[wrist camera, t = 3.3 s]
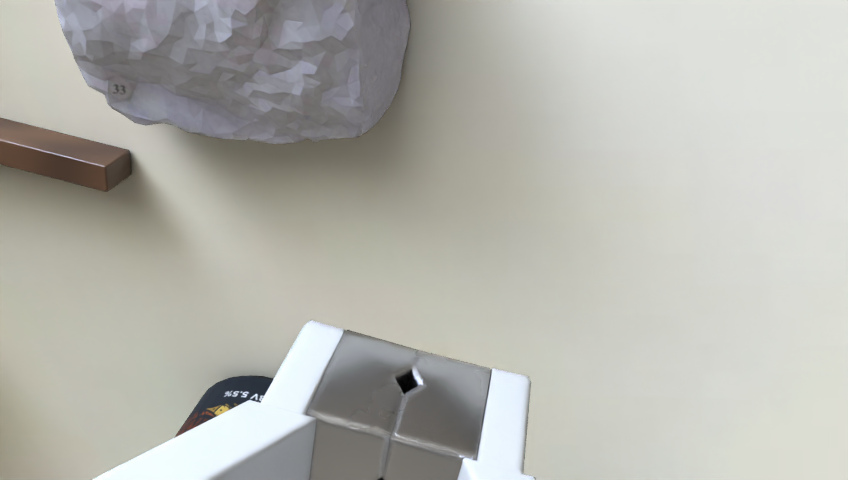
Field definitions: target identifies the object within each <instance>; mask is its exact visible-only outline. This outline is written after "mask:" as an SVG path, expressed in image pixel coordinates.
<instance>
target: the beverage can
mask: <svg viewBox="0 0 848 480" xmlns="http://www.w3.org/2000/svg"><path fill="white" fill-rule="evenodd" d="M273 380H274V379H273V378H268V377H264V376H239V377H232V378H228V379H225V380H223V381H220V382H218V383H216V384H215V385H213V386H212V387H210V388H209V389H208V390H207V391H206V393H205V394H204V395H203V397H202V398H201V399H200V401H199V402H198V404H197V405H196V407H195V408H194V410H193V411H192V413H191V414H190V415H189V417H188V418H187V420H186V421H185V423H184V424H183V426H182V427H181V429H180V430H179V431H178V433H177V434H176V436H175V437H177V436H179V435H181V434H183V433H185V432H187V431H189V430H191V429H193V428H195V427H197V426H199V425H201V424H203V423H205V422H207V421H209V420H211V419H213V418H215V417H217V416H219V415H221V414H223V413H224V412H226V411H228V410H230V409H232V408H234V407H236V406H238V405H240V404H242V403H244V402H246V401H248V400H251V401H255V402H259V403H261V401H262V399H263V397H264V396H265V394H266V392H267V390H268V388H269V387H270V385H271V383H272V381H273ZM175 437H174V438H175Z"/></svg>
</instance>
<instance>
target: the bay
mask: <svg viewBox="0 0 848 480" xmlns="http://www.w3.org/2000/svg"><path fill="white" fill-rule="evenodd" d="M0 164H1V165H5V166H8V167H12V168H16V169H20V170H24V171H28V172H32V173H36V174H39V175H43V176H47V177H51V178H55V179H59V180H63V181H67V182H70V183H74V184H78V185H82V186H86V187H90V188H94V189H98V190H101V191H105V192H108V191H109V190H111V189H112V188H114V187H115V186H116V185H118V184H119V183H120V182H122V181H123V180H124V179H126V178H127V177H128V176H130V175H131V165H130V151H129V150H126V149H122V148H118V147H114V146H110V145H106V144H102V143H98V142H94V141H90V140H86V139H82V138H79V137H75V136H71V135H67V134H63V133H59V132H55V131H51V130H47V129H43V128H39V127H35V126H31V125H27V124H23V123H19V122H15V121H11V120H7V119H3V118H0Z"/></svg>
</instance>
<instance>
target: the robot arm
mask: <svg viewBox="0 0 848 480" xmlns="http://www.w3.org/2000/svg"><path fill="white" fill-rule="evenodd" d="M530 389H531V381H530V379H529V377H528V376H524V375H520V374H516V373H512V372H507V371H503V370H499V369H495V368H492V369H490V368H487V367H483V366H479V365H476V364H472V363H468V362H464V361H460V360H456V359H452V358H448V357H444V356H440V355H436V354H432V353H428V352H424V351H420V350H417V349H413V348H410V347H406V346H403V345H399V344H396V343H392V342H389V341H385V340H382V339H378V338H375V337H371V336H368V335H364V334H361V333H357V332H354V331H350V330H347V331H346V330H344V329H341V328H337V327H334V326H330V325H326V324H323V323H319V322H316V321H312V320H310V321H309V322H308V323H307V324H305V325H304V326H303V328H302V330H301V332H300V333H299V335H298V337H297V339H296V340H295V342H294V344H293V346H292V348H291V349H290V351H289V353H288V355H287V356H286V358H285V360H284V362H283V364H282V365H281V367H280V369H279V371H278V372H277V374H276V376H275V378H274V380H273V381H272V383H271V385H270V387H269V388H268V390H267V392H266V394H265V396H264V397H263V399H262V401H261V403H259V402H255V401H251V400H248V401H246V402H244V403H242V404H240V405H238V406H236V407H234V408H232V409H230V410H228V411H226V412H224V413H223V414H221V415H219V416H217V417H215V418H213V419H211V420H209V421H207V422H205V423H203V424H201V425H199V426H197V427H195V428H193V429H191V430H189V431H187V432H185V433H183V434H181V435H179V436H177V437H175V438H173V439H171V440H169V441H167V442H165V443H163V444H161V445H159V446H157V447H155V448H153V449H151V450H149V451H147V452H145V453H143V454H141V455H139V456H137V457H135V458H133V459H132V460H130V461H128V462H126V463H124V464H122V465H120V466H118V467H116V468H114V469H112V470H110V471H108V472H106V473H104V474H102V475H100V476H98V477H96V478H94V479H92V480H536V478H535V477H532V476H528V475H525V474H523V470H524V459H525V447H526V435H527V424H528V412H529V400H530Z"/></svg>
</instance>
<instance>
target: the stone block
mask: <svg viewBox="0 0 848 480" xmlns="http://www.w3.org/2000/svg"><path fill="white" fill-rule="evenodd" d="M55 5H56V7H57V13H58V17H59V20H60V23H61V27H62V30H63V33H64V35H65V37H66V40H67V42H68V44H69V46H70V48H71V51H72V53H73V56H74V59H75V61H76V63H77V65H78V66H79V69H80V71H81V73H82V76H83V78H84V79H85V81H86V83H87V84H88V86H89V87H91V88H93V89H95V90H97V91H99V92H100V93H102V94H104V95H105V97H106V99H107V102H108V105H109V106H110V107H111V108H112V109H114V110H116V111H118V112H119V113H121V114H123V115H124V116H126V117H127V118H129V119H130V120H132V121H133V122H134V123H138V124H142V125H152V124H159V123H166V124H171V125H175V126H177V127H179V128H180V129H182V130H184V131H186V132H190V133H194V134H198V135H205V136H211V137H215V138H221V139H232V140H243V141H245V140H247V139H250V140H254V141H258V142H264V143H270V144H279V143H284V144H288V143H295V142H300V141H303V140H305V139H310V140H312V141H313V142H317V141H320V140H324V139H338V138H355V137H359V136H360V135H361V134H364V133H366V132H367V131H368V130H369V129H370V128H372V127H373V126H374V125H375V124H376V123H377V122H378V121H379V120H380V119H381V117H382V116H383V115H384V113H385V111H386V110H387V109H388V107H389V106H390V104H391V102H392V100H393V98H394V96H395V93H396V92H397V91H398V86H399V82H400V79H401V68H402V63H403V58H404V52H405V49H406V46H407V40H408V35H409V31H410V26H411V25H410V18H409V12H408V8H407V5H406V1H405V0H55Z"/></svg>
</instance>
